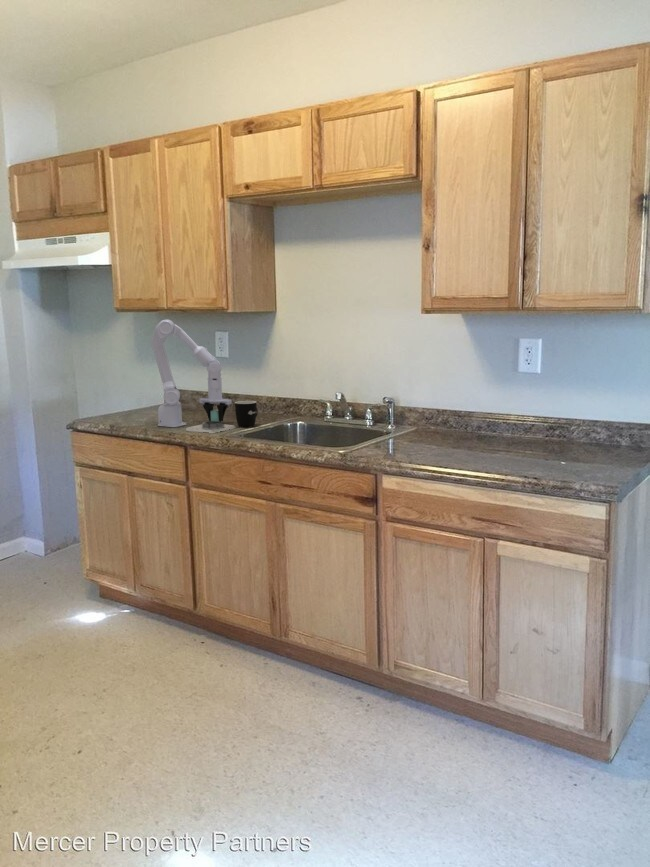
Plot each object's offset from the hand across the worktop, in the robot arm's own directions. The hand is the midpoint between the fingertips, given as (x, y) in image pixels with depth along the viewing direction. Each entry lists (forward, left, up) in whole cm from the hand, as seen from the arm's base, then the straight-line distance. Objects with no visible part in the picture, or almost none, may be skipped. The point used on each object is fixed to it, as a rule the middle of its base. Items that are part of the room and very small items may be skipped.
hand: (216, 420), depth 306 cm
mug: (+14, +4, -2) cm, 15 cm away
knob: (0, 0, -2) cm, 2 cm away
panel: (+6, -11, -2) cm, 13 cm away
